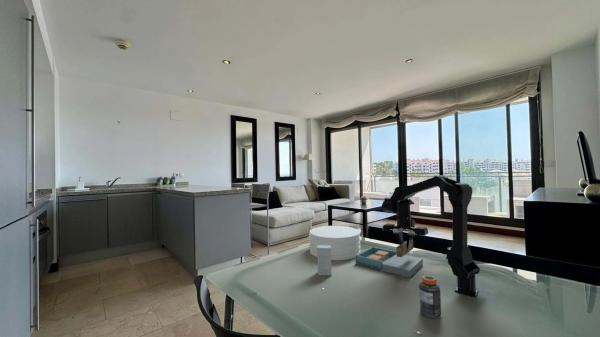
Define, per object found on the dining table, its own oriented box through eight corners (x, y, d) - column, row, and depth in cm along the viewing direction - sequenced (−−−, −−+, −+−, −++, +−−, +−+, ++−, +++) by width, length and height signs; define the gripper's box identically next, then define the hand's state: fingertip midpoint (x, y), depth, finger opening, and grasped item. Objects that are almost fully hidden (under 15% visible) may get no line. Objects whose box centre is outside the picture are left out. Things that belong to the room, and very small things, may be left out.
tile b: (384, 259, 124) (384, 254, 124) (375, 257, 128) (375, 252, 128) (389, 257, 128) (388, 252, 128) (379, 255, 131) (379, 250, 131)
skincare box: (331, 271, 114) (330, 245, 114) (331, 275, 110) (331, 248, 110) (317, 271, 114) (317, 245, 115) (317, 275, 110) (317, 248, 110)
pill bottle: (434, 308, 83) (433, 273, 83) (445, 318, 77) (444, 281, 77) (416, 308, 83) (415, 274, 83) (425, 319, 77) (425, 281, 77)
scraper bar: (401, 257, 109) (400, 247, 109) (396, 256, 111) (396, 247, 111) (413, 248, 121) (413, 240, 121) (409, 247, 123) (408, 239, 123)
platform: (409, 277, 106) (409, 270, 106) (382, 270, 114) (381, 263, 114) (422, 265, 120) (422, 258, 120) (397, 259, 128) (397, 253, 128)
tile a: (377, 264, 118) (377, 259, 118) (367, 262, 122) (367, 257, 122) (382, 261, 122) (382, 256, 122) (372, 259, 125) (372, 254, 125)
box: (381, 270, 114) (381, 261, 114) (355, 263, 123) (355, 255, 123) (396, 259, 128) (396, 251, 128) (372, 254, 136) (372, 246, 136)
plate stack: (301, 248, 150) (301, 229, 150) (341, 242, 161) (341, 224, 161) (326, 264, 124) (325, 240, 124) (371, 254, 136) (370, 233, 136)
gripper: (430, 212, 116) (432, 247, 116) (390, 210, 129) (392, 241, 128) (423, 216, 108) (425, 253, 107) (381, 213, 120) (382, 246, 120)
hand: (405, 248), depth 116 cm, fingers closed on scraper bar, 2 cm apart
